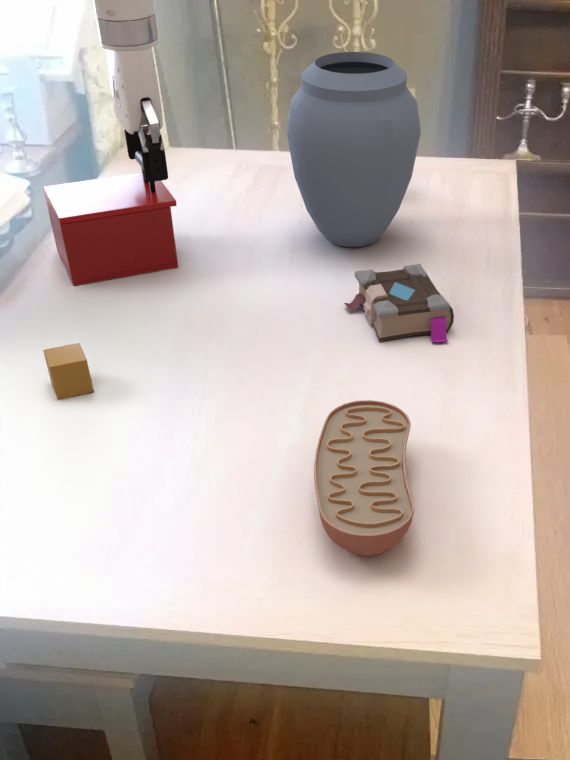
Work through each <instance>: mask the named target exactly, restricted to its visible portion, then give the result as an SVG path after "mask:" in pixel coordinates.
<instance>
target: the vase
mask: <svg viewBox="0 0 570 760" xmlns="http://www.w3.org/2000/svg"><path fill="white" fill-rule="evenodd" d="M300 79H301V86H300V87H299V89H297V91H296V93H294V95H293V97H292V98H291V101H290V105H289V111H288V117H287V123H286V130H285V131H286V132H285V133H286V137H287V143H288V149H289V153H290V159H291V165H292V170H293V175H294V179H295V182H296V184H297V187H298V190H299V193H300V195H301V198H302V201H303V204H304V206H305V209H306V211H307V213H308V215H309V216H310V218H311V219H312V222H313V223H314V224H315V226H316V228H317V229H318V232H320V233H321V234H322V235H323V237H324V238H325V239H326V240H327V241H328V242H329V243H332V244H334V245H336V246H337V245H338V246H339V247H345V248H361V247H365V246H369V245H371V244H373V243H376V242H377V241H378V240H379V239H380V238H381V237H382V235H384V234H385V232H386V231H387V230H388V228H389V226H390V225H391V223H392V222H393V220H394V219H395V217H396V216H397V214H398V212H399V210H400V208H401V205H402V203H403V200H404V199H405V198H404V197H405V195H406V192H407V190H408V188H409V185H410V183H411V180H412V178H413V174H414V168H415V163H416V158H417V153H418V149H419V143H420V138H421V134H422V133H421V130H422V128H421V121H420V115H419V106H418V101H417V99H416V98H415V96H414V95H413V93H412V92H411V90H410V89H409V88H408V86H407V80H408V73H407V72H406V71H405V70H404V69H403V68H401V67H400V66H399V65H398V64H397V63H396V62H395V61H394V60H393V59H392V58H390V57H389V56H386V55H383V54H379V53H374V52H366V51H342V52H334V53H329V54H328V53H327V54H325V55H322V56H320V57H318V58H316V59H315V60H314V61H313V62H312V63H311V64H310V65H308V66H307V67H306V68H305V69H304V70H303V71H302V72H301V74H300Z"/></svg>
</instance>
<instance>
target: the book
mask: <svg viewBox="0 0 570 760" xmlns="http://www.w3.org/2000/svg"><path fill="white" fill-rule="evenodd" d="M354 278H355V279H356V280H357V282H358V293H357V294H355V296H354V297H353V300H352V301H350V302H343V304H344V305H345V306H346V308H347V309H348V310H353V311H354V310H357V309H358V308H359V307H360V308H361V309H362V311H363V312H364V314H365V316H364V317H365V318H366V320H368V323H369V325H370V328H371V327H373V328H374V331H375V334H376V338H377V341H378V342H379V343H380V342H385V341H389V340H396V339H400V338H406V337H407V338H408V337H413V336H423V335H424V336H425V335H430V337H431V338H430V340H431V342H432V343H443V342H449V339H447V334H448V333H449V331H450V330H451V328H452V326H453V324H454V319H455V314H454V309H453V307H452V306H451V305H450V303H449V302H448V300H447V299H446V298H445V297H444V296H443V295H442V294H441V293H440V292H439V290H438V289H437V287H436V286H435V285H434V283H433V281H432V280H431V278H430V276H429V274H428V273H427V271H426V270H425V269H424V267H423V265H422V264H421V263H415V264H408V265H404V266H403V267H402V268H401V269H396V270H395V269H394V270H388V271H378V272H376V271H375V270H373V269H362V270H356V271H354Z"/></svg>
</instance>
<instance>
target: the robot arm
mask: <svg viewBox="0 0 570 760" xmlns="http://www.w3.org/2000/svg"><path fill="white" fill-rule="evenodd" d="M92 3H93V9H94V15H95V20H96V26H97V32H98V38H99V43H100V47H101V48H103V49H104V50H106V58H107V68H108V75H109V83H110V91H111V98H112V106H113V113H114V116H115V118H116V119H117V121H118V122H119V123H120V125H121V126H122V127H123V128H124V130H123V131H124V138H125V143H126V144H125V145H126V151H127V156H128V158H129V159H130V160H136V159H135V153H136V151H137V150H139V149H143V151H141V156H142V162H143V169H144V175H145V180H146V181H147V182H155V181H166V180H168V179H169V171H168V164H167V156H166V149H165V144H164V141H163V135H162V133H161V130H162V128H163V127H164V119H163V109H162V102H161V94H160V89H159V81H158V75H157V69H156V63H155V58H154V53H153V47H156V46H157V45H158V44H159V36H158V29H157V19H156V13H155V4H154V0H92Z"/></svg>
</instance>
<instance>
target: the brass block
mask: <svg viewBox="0 0 570 760" xmlns="http://www.w3.org/2000/svg"><path fill="white" fill-rule="evenodd" d="M42 352H43V356H44V361H45V364H46V368H47V371H48V375H49V379H50V383H51V386H52V388H53V391H54V394H55V397H56V399H57V400H62V399H68V398H72V397H77V396H80V395H86V394H90V393H91V394H92V393H94V392H95V391H94V385H93V382H92V377H91V373H90V368H89V364H88V359H87V357H86V354H85V352H84V350H83V347H82V345H81V343H80V342H77V343H71V344H66V345H61V346H55V347H51V348H46V349H42Z"/></svg>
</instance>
